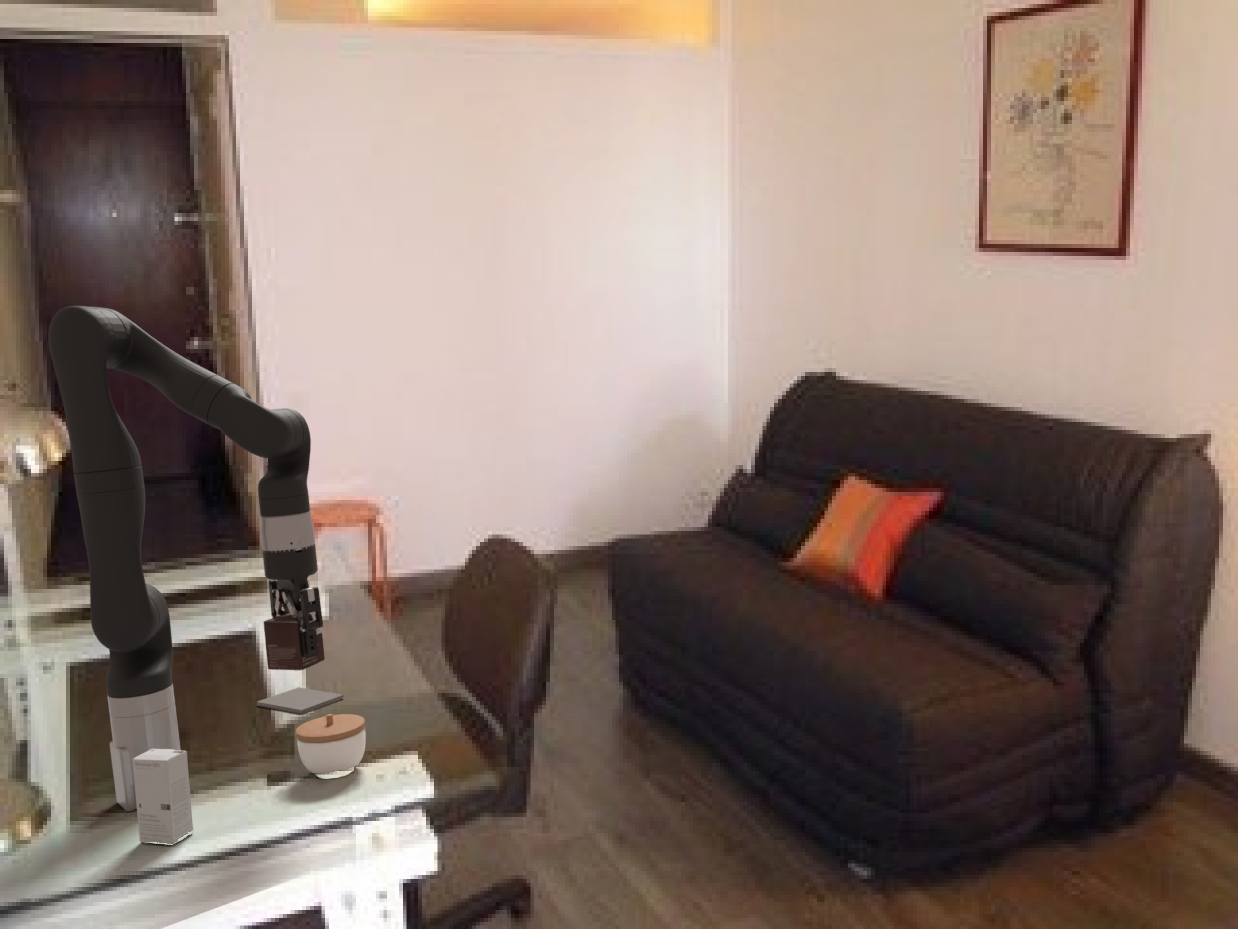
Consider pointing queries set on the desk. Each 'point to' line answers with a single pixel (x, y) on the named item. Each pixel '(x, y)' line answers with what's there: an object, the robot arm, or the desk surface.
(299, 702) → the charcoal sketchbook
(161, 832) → the skincare box
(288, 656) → the box
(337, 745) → the lidded jar
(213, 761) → the desk surface
